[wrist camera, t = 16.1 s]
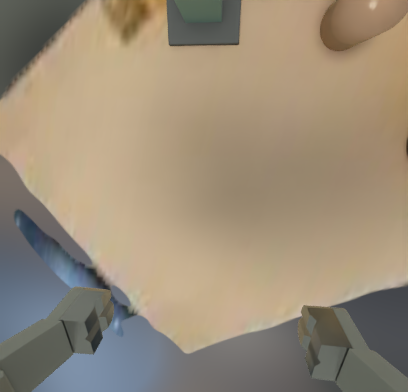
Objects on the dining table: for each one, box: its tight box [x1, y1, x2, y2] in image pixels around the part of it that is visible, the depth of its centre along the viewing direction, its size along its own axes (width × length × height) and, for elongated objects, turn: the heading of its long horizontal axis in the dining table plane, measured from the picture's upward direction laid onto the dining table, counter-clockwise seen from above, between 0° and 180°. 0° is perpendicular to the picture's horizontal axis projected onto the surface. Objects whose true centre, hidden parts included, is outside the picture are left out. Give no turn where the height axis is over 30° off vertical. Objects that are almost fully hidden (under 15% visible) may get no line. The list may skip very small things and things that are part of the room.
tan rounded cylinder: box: [320, 0, 408, 51], centre depth 26 cm, size 6×6×8 cm
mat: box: [167, 0, 241, 46], centre depth 30 cm, size 10×10×1 cm
